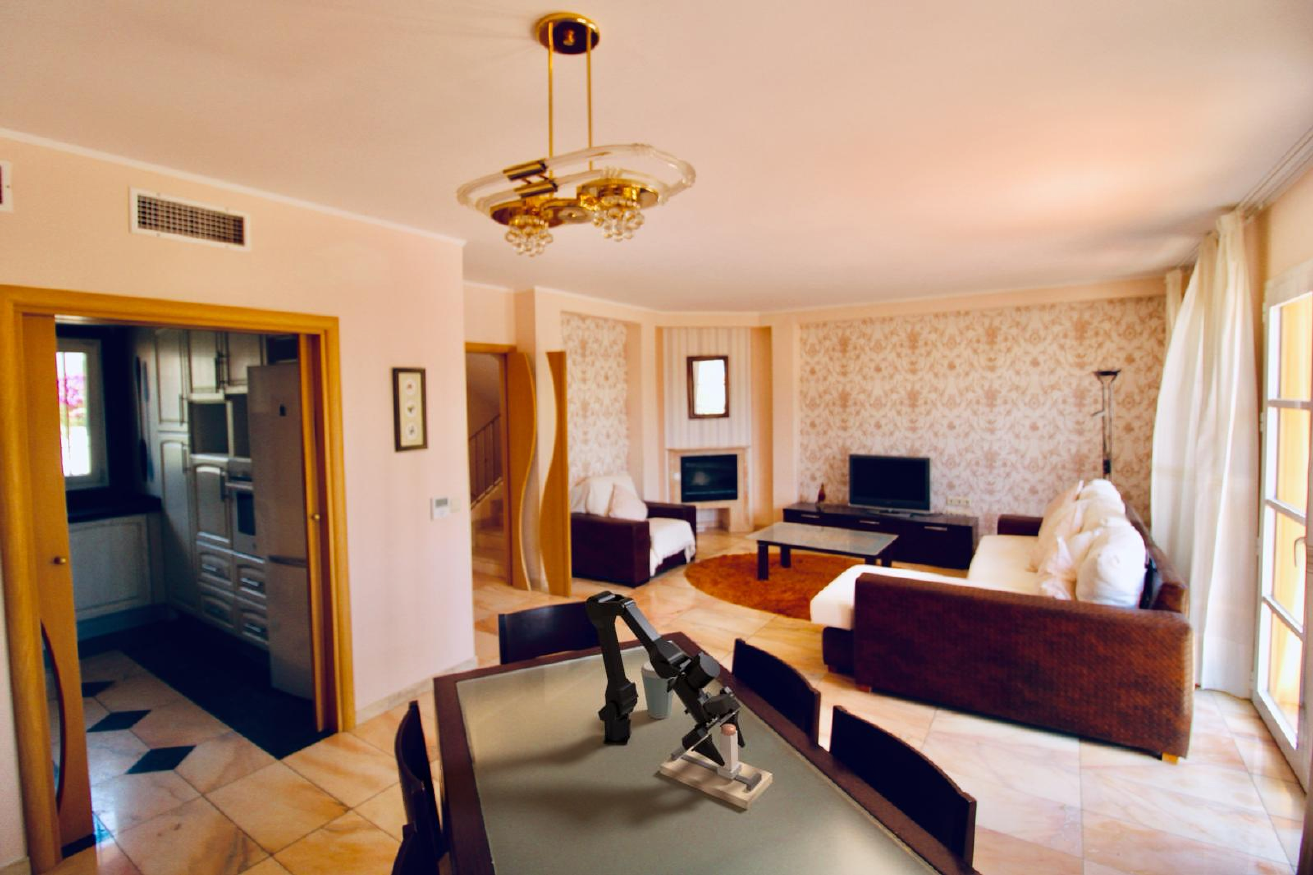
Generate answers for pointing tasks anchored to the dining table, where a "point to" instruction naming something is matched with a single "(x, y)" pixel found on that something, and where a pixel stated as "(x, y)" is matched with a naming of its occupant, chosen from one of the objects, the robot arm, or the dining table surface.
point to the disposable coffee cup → (656, 692)
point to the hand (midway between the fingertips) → (734, 756)
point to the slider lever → (729, 752)
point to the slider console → (716, 777)
